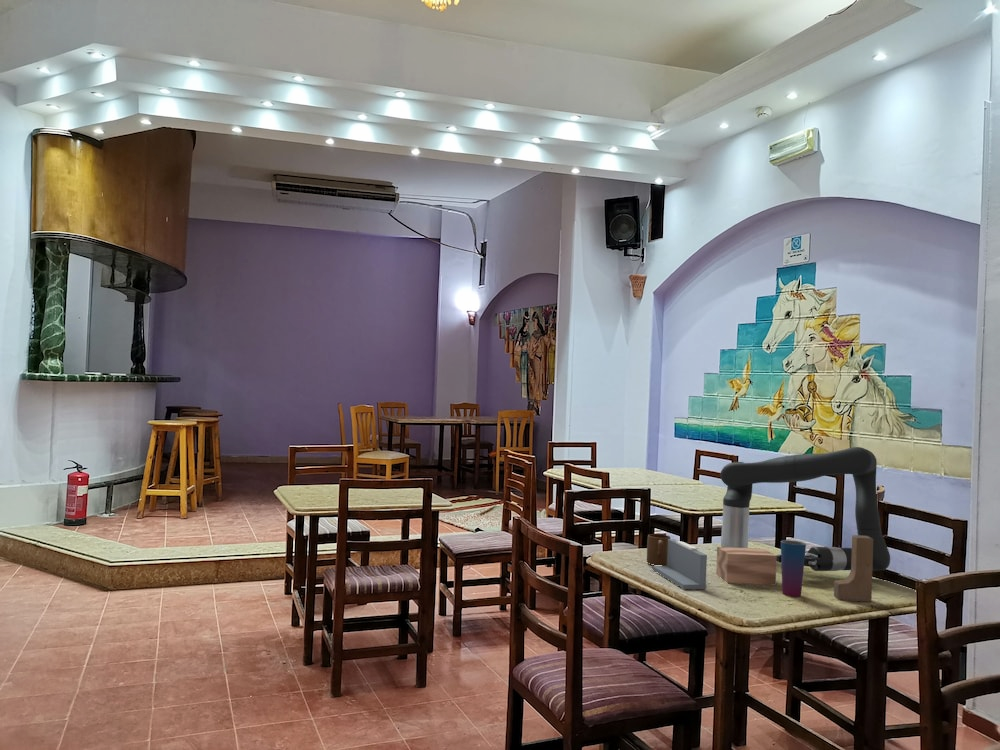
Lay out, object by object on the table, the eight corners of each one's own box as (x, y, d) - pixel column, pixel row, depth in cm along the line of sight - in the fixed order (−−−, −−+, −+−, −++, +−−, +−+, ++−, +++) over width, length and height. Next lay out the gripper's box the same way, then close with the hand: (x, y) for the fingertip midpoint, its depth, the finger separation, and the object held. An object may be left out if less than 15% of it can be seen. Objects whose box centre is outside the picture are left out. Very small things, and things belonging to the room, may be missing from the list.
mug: (672, 570, 233) (673, 541, 233) (648, 569, 234) (649, 539, 234) (668, 562, 245) (669, 534, 245) (645, 560, 246) (646, 533, 246)
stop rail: (652, 570, 232) (653, 537, 232) (672, 570, 233) (673, 537, 233) (683, 589, 209) (684, 552, 210) (705, 589, 210) (706, 553, 211)
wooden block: (838, 599, 206) (840, 536, 206) (833, 595, 210) (835, 533, 211) (871, 602, 205) (873, 538, 205) (866, 598, 209) (868, 535, 210)
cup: (806, 594, 210) (808, 542, 211) (801, 599, 205) (803, 545, 205) (782, 590, 214) (783, 539, 215) (776, 594, 209) (778, 542, 209)
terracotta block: (716, 575, 230) (717, 546, 230) (763, 577, 230) (764, 548, 231) (726, 583, 220) (727, 553, 220) (775, 585, 220) (776, 555, 221)
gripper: (814, 542, 237) (766, 542, 234) (840, 551, 224) (789, 551, 221) (813, 565, 237) (765, 565, 234) (840, 575, 224) (789, 575, 221)
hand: (777, 558), depth 227 cm, fingers closed
